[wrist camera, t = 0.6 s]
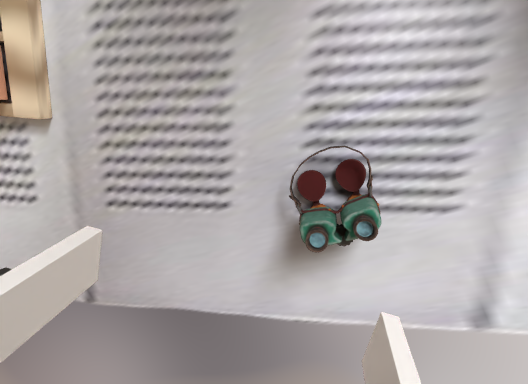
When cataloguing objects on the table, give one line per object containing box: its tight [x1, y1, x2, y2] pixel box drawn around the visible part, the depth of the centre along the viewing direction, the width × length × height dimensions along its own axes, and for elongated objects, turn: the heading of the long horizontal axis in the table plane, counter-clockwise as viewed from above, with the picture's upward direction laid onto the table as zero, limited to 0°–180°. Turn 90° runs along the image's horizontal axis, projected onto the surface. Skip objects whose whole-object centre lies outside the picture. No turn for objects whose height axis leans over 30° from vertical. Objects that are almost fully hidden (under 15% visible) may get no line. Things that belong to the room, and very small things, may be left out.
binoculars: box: [289, 146, 381, 252], centre depth 36 cm, size 9×11×10 cm
